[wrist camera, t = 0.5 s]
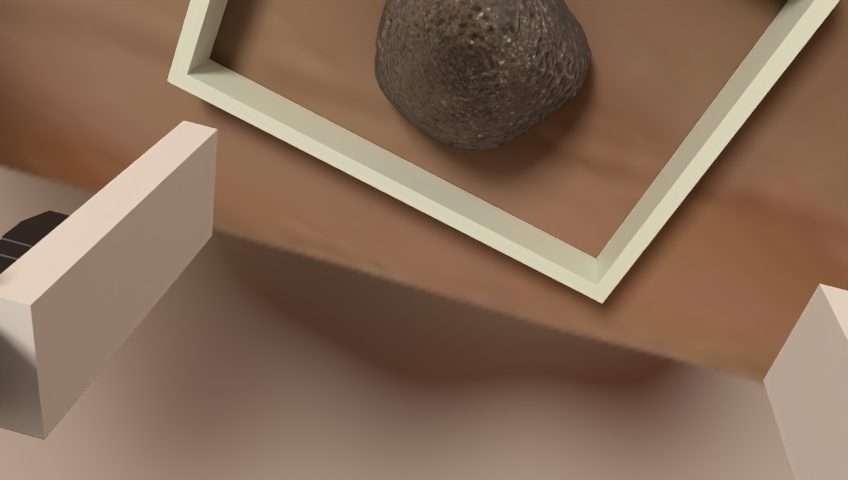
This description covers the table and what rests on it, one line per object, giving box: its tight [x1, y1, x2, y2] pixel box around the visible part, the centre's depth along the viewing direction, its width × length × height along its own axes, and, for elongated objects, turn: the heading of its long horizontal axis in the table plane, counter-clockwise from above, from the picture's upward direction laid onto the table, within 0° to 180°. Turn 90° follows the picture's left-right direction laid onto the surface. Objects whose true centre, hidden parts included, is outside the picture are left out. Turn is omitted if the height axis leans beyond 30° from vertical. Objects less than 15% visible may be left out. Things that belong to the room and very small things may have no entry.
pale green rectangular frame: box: [167, 0, 840, 303], centre depth 33 cm, size 24×18×2 cm
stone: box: [375, 0, 592, 150], centre depth 33 cm, size 10×8×10 cm
